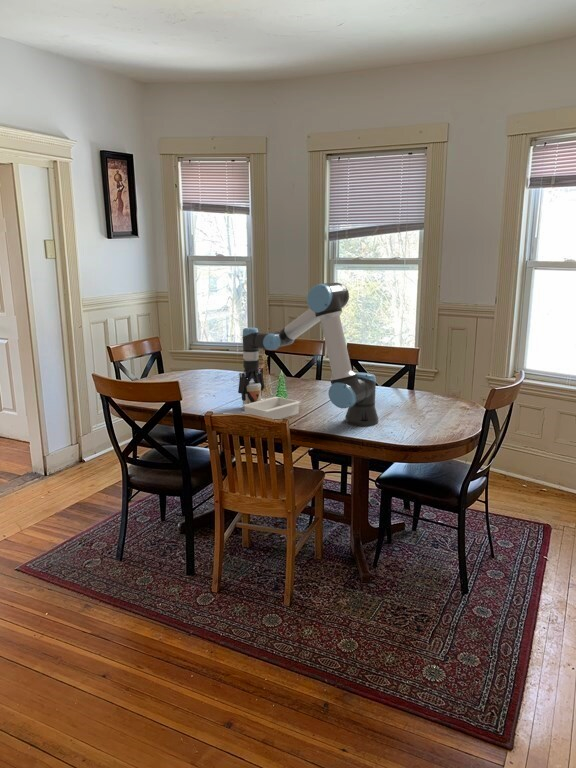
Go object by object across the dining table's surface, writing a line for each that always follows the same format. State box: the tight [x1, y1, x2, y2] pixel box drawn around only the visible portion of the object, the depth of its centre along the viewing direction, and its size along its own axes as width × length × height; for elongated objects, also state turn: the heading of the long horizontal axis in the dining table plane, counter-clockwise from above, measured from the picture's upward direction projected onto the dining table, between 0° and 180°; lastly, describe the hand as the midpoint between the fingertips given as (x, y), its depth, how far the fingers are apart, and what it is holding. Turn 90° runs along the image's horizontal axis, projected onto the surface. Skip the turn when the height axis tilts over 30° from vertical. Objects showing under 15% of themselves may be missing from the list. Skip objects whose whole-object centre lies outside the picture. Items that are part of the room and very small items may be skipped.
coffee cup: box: [244, 381, 261, 408], centre depth 282 cm, size 9×9×12 cm
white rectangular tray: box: [241, 396, 303, 420], centre depth 271 cm, size 23×17×6 cm
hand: (252, 404), depth 283 cm, fingers closed on coffee cup, 8 cm apart
